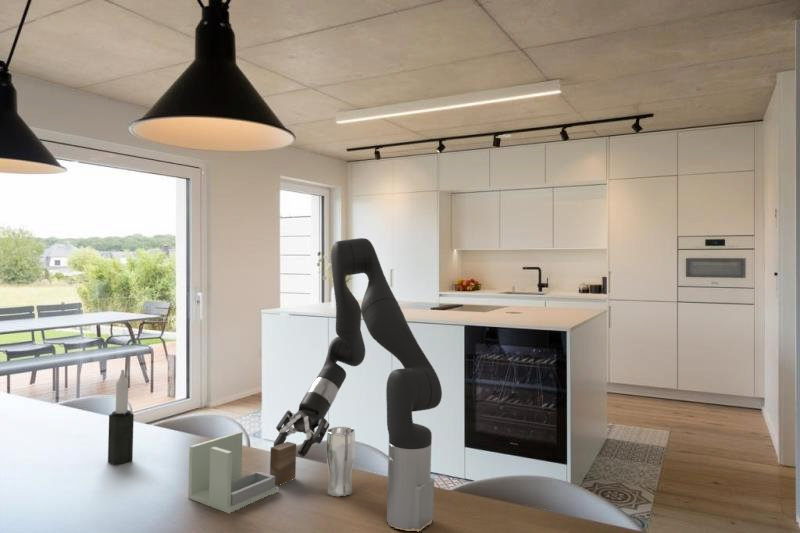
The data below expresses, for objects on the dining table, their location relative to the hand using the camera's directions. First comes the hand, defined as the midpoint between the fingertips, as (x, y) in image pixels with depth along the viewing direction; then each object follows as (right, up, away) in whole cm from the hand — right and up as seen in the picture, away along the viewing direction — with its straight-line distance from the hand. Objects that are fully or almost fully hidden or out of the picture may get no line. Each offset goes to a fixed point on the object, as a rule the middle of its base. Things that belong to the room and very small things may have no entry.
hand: (288, 451), depth 145 cm
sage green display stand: (-11, -7, -11) cm, 17 cm away
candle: (-48, -6, +9) cm, 49 cm away
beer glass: (+14, -8, -8) cm, 18 cm away
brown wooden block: (-1, -7, -1) cm, 7 cm away
